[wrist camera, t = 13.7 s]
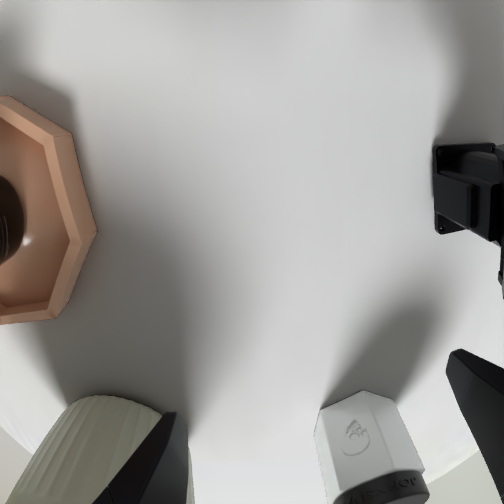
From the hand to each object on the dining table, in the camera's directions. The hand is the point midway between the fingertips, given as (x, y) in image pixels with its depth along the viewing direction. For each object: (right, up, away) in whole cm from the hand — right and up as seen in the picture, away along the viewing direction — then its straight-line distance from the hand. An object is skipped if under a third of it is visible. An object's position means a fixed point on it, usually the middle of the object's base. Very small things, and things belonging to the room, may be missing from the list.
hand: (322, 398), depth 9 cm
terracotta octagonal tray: (-21, +7, +10) cm, 25 cm away
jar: (+8, -12, +20) cm, 24 cm away
